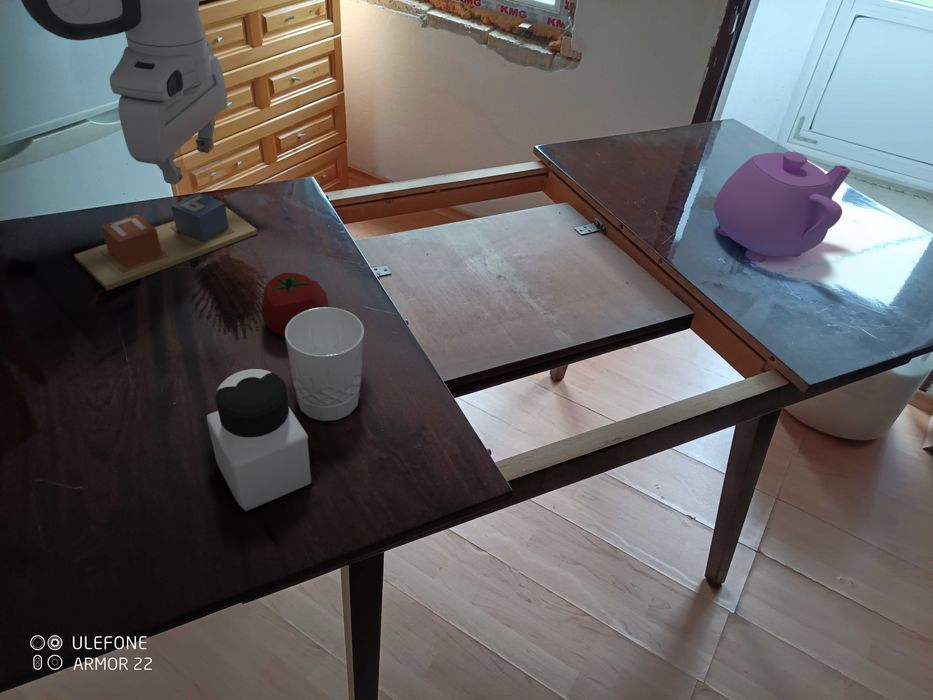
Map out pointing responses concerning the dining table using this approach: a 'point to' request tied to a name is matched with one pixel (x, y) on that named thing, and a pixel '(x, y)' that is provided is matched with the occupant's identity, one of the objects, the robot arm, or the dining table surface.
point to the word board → (173, 252)
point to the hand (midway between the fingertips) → (190, 165)
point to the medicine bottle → (258, 438)
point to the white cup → (326, 361)
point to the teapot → (779, 205)
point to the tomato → (290, 299)
